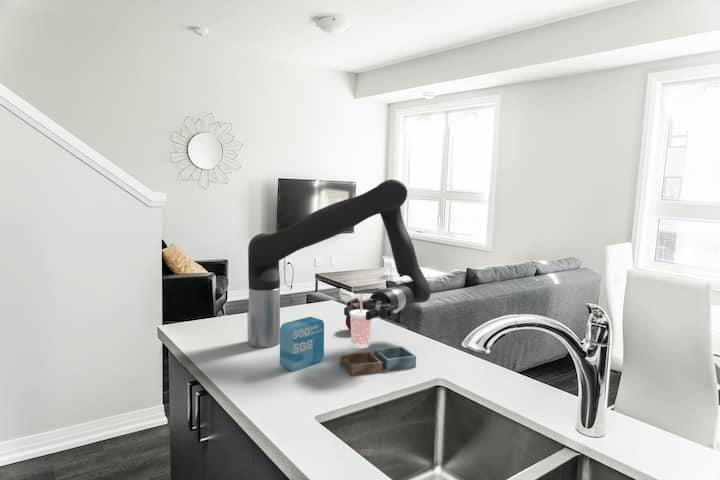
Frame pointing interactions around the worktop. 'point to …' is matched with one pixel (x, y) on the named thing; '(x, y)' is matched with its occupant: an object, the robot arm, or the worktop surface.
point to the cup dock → (378, 360)
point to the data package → (301, 343)
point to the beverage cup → (360, 327)
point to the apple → (348, 321)
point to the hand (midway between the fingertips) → (356, 313)
